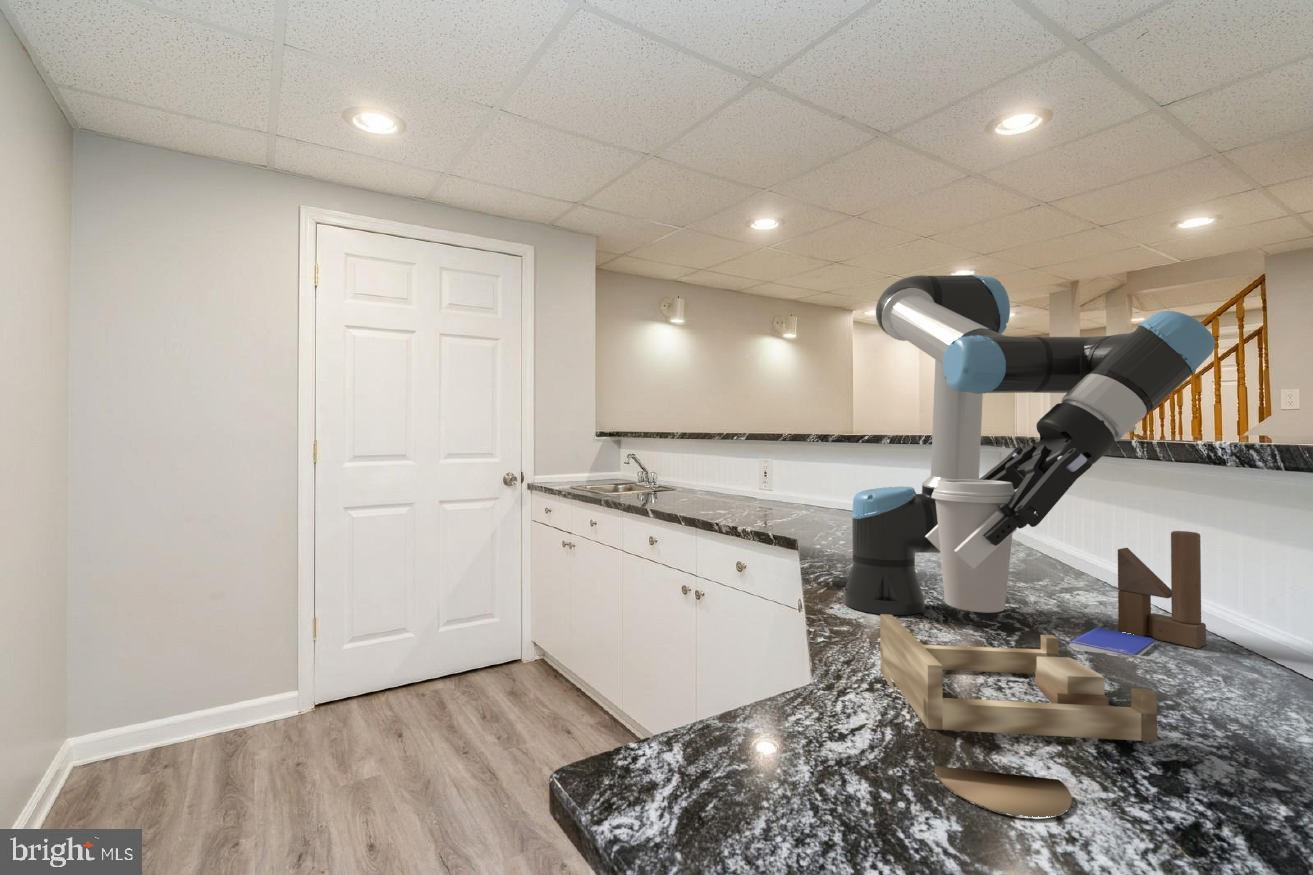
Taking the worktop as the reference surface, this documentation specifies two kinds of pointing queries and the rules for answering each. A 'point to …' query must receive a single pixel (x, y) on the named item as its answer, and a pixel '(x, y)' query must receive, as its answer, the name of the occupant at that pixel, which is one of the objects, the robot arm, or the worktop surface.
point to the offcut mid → (1062, 697)
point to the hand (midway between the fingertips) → (947, 551)
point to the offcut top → (1070, 675)
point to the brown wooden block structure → (1163, 594)
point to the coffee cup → (958, 518)
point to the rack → (923, 689)
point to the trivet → (1008, 791)
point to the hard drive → (1112, 642)
